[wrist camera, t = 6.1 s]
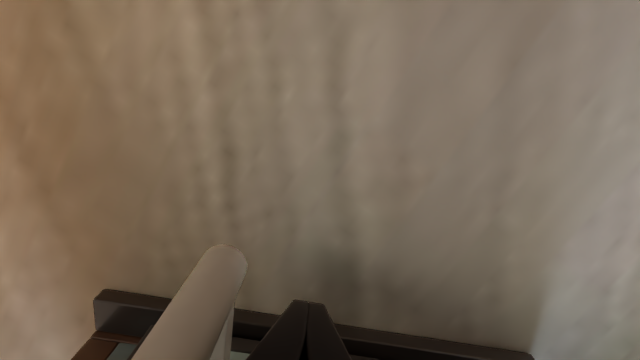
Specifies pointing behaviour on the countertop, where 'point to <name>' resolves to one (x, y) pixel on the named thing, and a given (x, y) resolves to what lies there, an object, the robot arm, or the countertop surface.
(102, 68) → the countertop surface
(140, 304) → the cupboard
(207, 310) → the glass door
